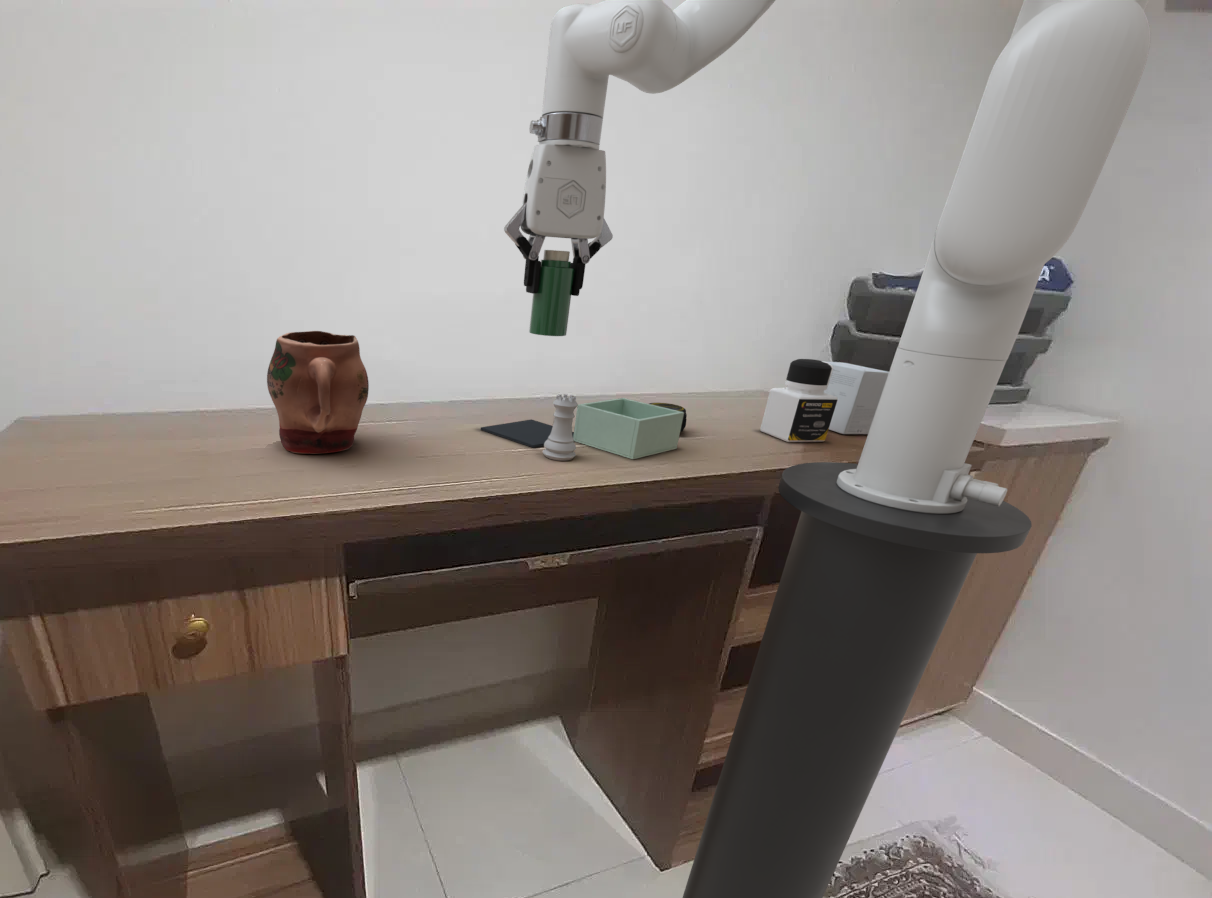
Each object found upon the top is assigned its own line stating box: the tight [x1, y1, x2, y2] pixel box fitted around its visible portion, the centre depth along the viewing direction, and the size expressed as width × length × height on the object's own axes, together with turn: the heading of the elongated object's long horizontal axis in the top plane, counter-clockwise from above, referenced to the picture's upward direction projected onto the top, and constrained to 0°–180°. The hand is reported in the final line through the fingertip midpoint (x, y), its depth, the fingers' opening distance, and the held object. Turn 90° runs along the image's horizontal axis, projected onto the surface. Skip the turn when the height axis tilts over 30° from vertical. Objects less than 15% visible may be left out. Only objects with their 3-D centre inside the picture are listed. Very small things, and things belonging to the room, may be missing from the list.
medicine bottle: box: [759, 358, 838, 443], centre depth 102 cm, size 7×7×12 cm
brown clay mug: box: [266, 330, 370, 455], centre depth 80 cm, size 20×12×14 cm, turn 21°
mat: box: [480, 418, 574, 449], centre depth 96 cm, size 11×11×1 cm
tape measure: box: [648, 402, 688, 433], centre depth 103 cm, size 7×7×4 cm
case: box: [573, 397, 684, 460], centre depth 93 cm, size 11×11×5 cm
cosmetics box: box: [824, 361, 889, 435], centre depth 111 cm, size 10×6×10 cm, turn 15°
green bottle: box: [528, 249, 574, 337], centre depth 88 cm, size 5×5×10 cm
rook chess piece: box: [542, 393, 579, 462], centre depth 85 cm, size 4×4×8 cm
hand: (552, 292), depth 88 cm, fingers closed on green bottle, 5 cm apart
